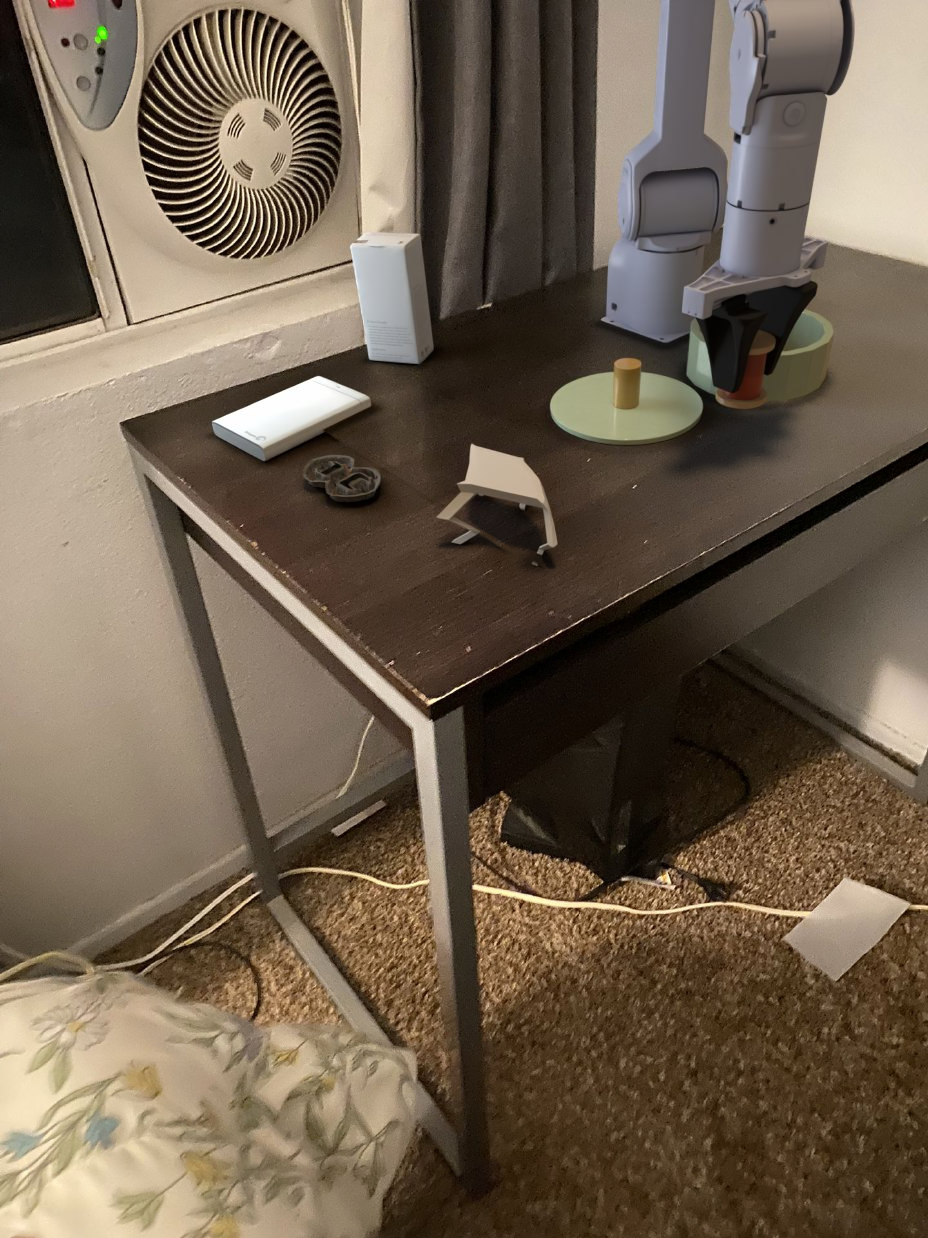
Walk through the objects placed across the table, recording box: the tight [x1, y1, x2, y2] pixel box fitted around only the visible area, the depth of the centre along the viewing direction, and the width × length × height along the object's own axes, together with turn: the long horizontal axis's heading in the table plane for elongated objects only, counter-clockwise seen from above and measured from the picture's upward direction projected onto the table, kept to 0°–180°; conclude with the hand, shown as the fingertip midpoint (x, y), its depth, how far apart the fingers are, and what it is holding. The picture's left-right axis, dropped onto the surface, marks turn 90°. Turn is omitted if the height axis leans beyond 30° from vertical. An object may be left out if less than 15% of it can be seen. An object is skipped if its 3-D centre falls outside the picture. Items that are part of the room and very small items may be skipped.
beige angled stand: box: [435, 443, 558, 567], centre depth 67 cm, size 12×8×5 cm
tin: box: [686, 308, 835, 403], centre depth 85 cm, size 13×13×5 cm
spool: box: [715, 330, 776, 410], centre depth 72 cm, size 4×4×5 cm
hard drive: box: [211, 375, 372, 462], centre depth 85 cm, size 2×8×12 cm
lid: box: [549, 357, 704, 446], centre depth 81 cm, size 14×14×5 cm
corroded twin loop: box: [301, 454, 382, 503], centre depth 75 cm, size 5×8×1 cm, turn 45°
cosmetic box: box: [349, 231, 435, 365], centre depth 92 cm, size 6×4×12 cm
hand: (742, 379), depth 73 cm, fingers closed on spool, 4 cm apart
